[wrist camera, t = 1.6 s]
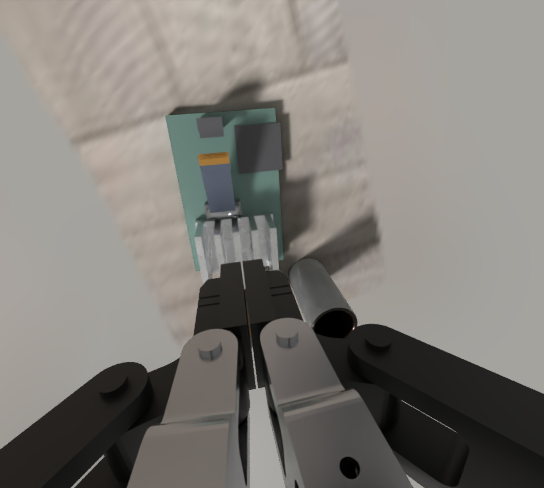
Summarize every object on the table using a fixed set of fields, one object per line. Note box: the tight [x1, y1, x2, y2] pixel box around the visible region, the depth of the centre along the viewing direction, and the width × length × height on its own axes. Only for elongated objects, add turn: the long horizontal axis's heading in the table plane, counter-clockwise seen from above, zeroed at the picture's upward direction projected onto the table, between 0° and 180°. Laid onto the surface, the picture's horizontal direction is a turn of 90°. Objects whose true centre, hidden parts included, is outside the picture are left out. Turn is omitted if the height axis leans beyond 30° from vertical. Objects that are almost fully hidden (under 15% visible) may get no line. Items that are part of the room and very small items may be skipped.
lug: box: [196, 116, 224, 138], centre depth 25 cm, size 2×2×4 cm
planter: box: [289, 258, 357, 339], centre depth 32 cm, size 4×4×10 cm
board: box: [165, 108, 284, 271], centre depth 31 cm, size 16×10×1 cm, turn 4°
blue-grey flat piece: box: [198, 152, 240, 220], centre depth 26 cm, size 7×3×1 cm, turn 4°
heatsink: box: [194, 199, 279, 289], centre depth 30 cm, size 8×8×5 cm
